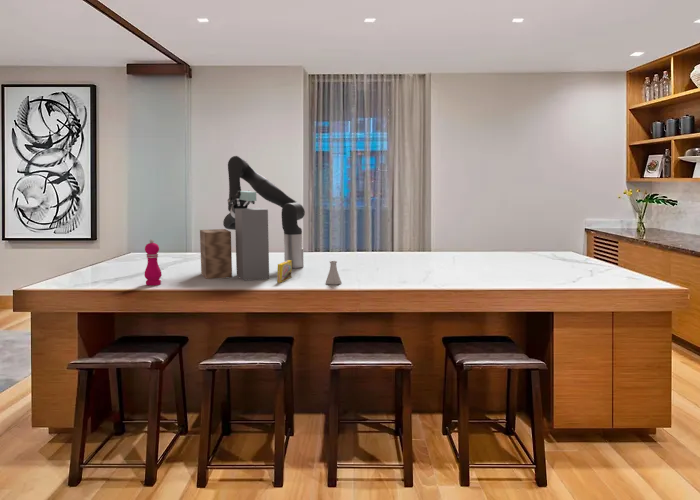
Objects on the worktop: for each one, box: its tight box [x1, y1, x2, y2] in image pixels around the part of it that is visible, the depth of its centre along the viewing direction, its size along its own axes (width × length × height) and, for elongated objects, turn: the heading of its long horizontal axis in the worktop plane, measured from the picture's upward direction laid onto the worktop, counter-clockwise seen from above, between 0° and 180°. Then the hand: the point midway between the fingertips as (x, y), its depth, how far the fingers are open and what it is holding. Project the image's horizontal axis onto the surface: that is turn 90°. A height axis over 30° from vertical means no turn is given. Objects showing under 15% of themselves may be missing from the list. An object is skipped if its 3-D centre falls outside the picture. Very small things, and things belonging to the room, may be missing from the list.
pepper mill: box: [144, 239, 163, 287], centre depth 287 cm, size 7×7×20 cm
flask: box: [325, 260, 342, 286], centre depth 287 cm, size 7×7×10 cm
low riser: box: [199, 228, 233, 280], centre depth 311 cm, size 12×16×22 cm
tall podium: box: [234, 207, 270, 281], centre depth 305 cm, size 12×16×32 cm
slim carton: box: [238, 190, 257, 202], centre depth 311 cm, size 4×22×4 cm, turn 21°
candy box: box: [276, 260, 293, 284], centre depth 299 cm, size 16×2×8 cm, turn 168°
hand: (244, 192), depth 316 cm, fingers closed on slim carton, 4 cm apart
